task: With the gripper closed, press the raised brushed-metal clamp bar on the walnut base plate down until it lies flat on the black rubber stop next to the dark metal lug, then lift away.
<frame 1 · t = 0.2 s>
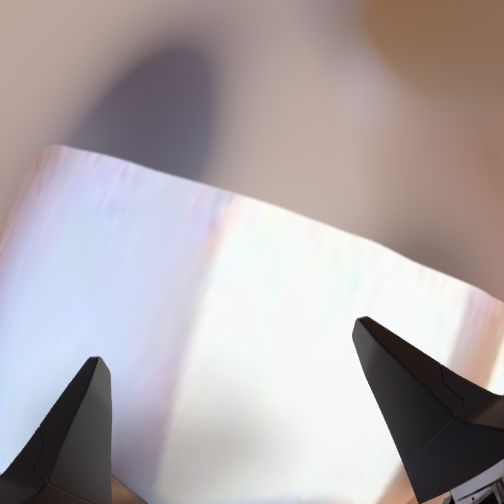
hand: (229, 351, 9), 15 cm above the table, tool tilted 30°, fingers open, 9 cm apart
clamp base: (98, 502, 22), on the table
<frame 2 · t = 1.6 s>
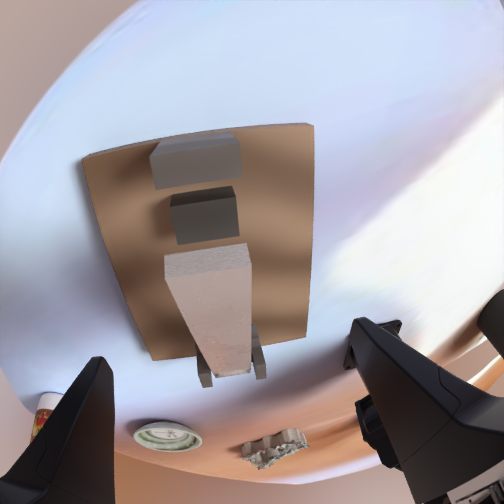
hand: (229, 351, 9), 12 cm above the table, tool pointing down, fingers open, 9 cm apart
saucer: (167, 426, 35), on the table
milk bottle: (66, 404, 29), on the table
mug: (491, 313, 37), on the table
clamp bar: (224, 337, 17), point 7 cm above the table, hinge at 22.0°
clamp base: (212, 256, 21), on the table
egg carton: (272, 438, 42), on the table
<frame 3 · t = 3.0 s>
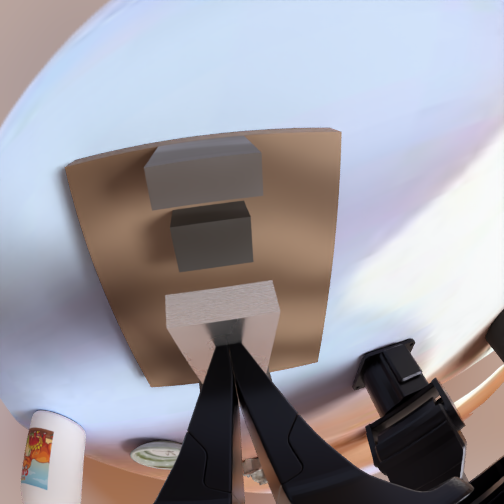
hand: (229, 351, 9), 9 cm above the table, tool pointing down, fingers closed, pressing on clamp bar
saucer: (165, 444, 32), on the table
milk bottle: (59, 422, 26), on the table
mug: (499, 326, 35), on the table
clamp bar: (233, 375, 14), point 7 cm above the table, hinge at 20.7°, touching gripper
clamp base: (218, 279, 19), on the table
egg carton: (273, 454, 40), on the table
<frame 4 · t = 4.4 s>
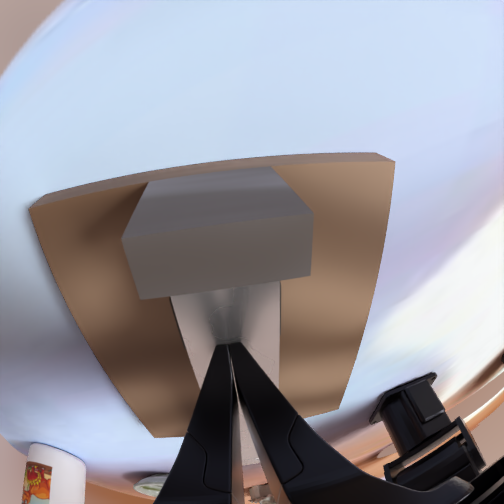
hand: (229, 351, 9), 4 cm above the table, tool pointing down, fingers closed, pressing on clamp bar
saucer: (170, 476, 28), on the table
milk bottle: (58, 453, 23), on the table
clamp bar: (243, 407, 12), point 4 cm above the table, hinge at 0.0°, touching gripper
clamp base: (230, 335, 15), on the table
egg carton: (282, 480, 36), on the table
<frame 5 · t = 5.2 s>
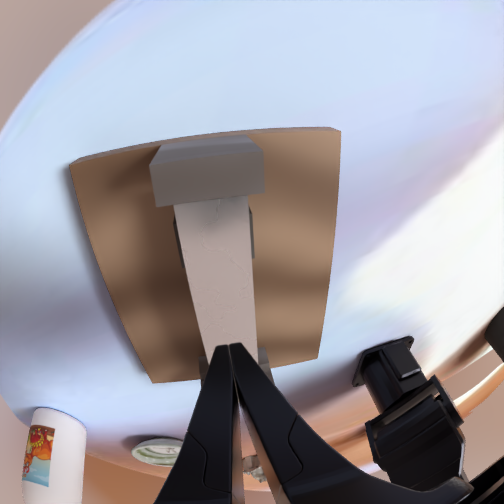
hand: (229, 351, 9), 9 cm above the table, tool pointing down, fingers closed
saucer: (166, 441, 32), on the table
milk bottle: (60, 419, 27), on the table
mug: (498, 324, 35), on the table
clamp bar: (228, 329, 16), point 4 cm above the table, hinge at 0.0°
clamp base: (219, 276, 19), on the table
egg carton: (273, 452, 40), on the table
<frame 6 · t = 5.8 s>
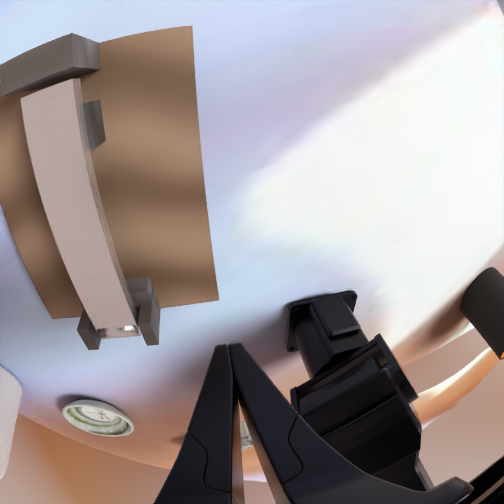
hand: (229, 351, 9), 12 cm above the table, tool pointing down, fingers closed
saucer: (99, 406, 30), on the table
milk bottle: (0, 375, 24), on the table
mug: (477, 296, 34), on the table
clamp bar: (81, 232, 14), point 4 cm above the table, hinge at 0.0°
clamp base: (96, 191, 17), on the table
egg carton: (220, 431, 38), on the table
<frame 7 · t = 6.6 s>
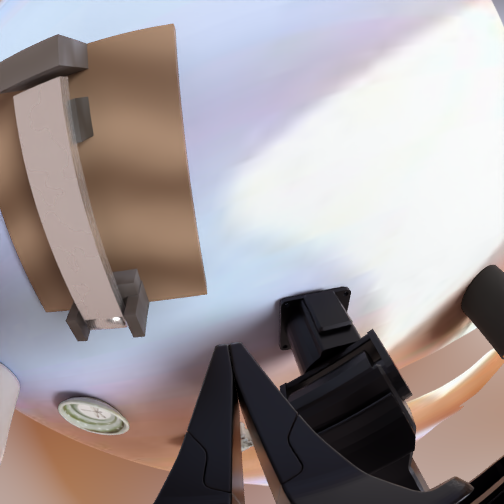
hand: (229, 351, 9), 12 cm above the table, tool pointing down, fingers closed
saucer: (94, 404, 30), on the table
mug: (479, 295, 33), on the table
clamp bar: (68, 223, 14), point 4 cm above the table, hinge at 0.0°
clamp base: (86, 185, 17), on the table
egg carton: (217, 432, 38), on the table
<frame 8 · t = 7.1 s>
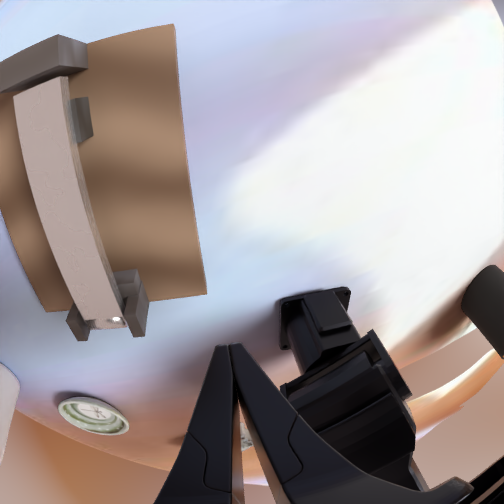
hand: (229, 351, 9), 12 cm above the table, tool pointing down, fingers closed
saucer: (95, 404, 30), on the table
mug: (479, 295, 33), on the table
clamp bar: (68, 223, 14), point 4 cm above the table, hinge at 0.0°
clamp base: (86, 185, 17), on the table
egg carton: (217, 432, 38), on the table
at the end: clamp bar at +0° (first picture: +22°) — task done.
